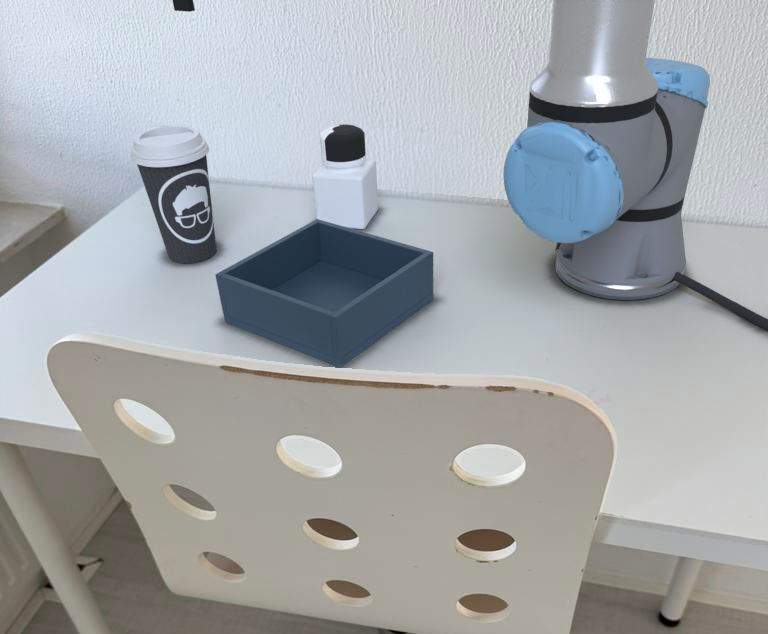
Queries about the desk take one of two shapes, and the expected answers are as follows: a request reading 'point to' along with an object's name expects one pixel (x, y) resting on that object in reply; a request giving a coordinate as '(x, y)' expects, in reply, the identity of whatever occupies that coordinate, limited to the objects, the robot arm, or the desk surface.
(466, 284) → the desk surface
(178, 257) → the coffee cup
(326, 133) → the medicine bottle
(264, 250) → the bin
